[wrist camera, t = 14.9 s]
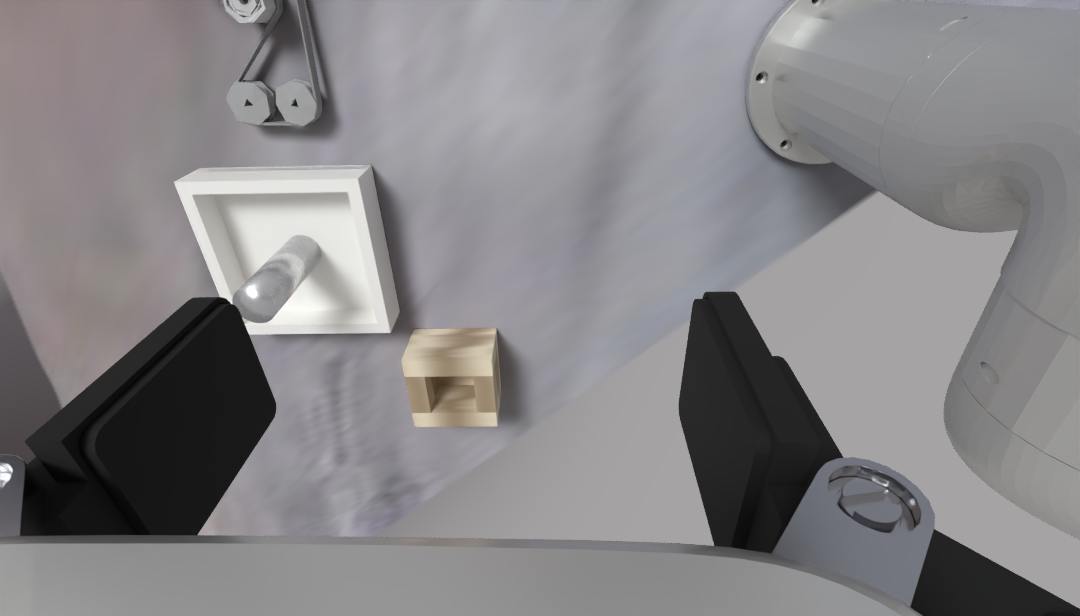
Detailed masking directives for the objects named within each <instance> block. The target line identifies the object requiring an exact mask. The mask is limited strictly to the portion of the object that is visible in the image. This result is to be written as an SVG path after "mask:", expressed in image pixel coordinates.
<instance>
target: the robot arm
mask: <svg viewBox="0 0 1080 616" xmlns="http://www.w3.org/2000/svg"><path fill="white" fill-rule="evenodd" d="M759 73H761V77H760V79H759V80H756V76H757V75H758V74H759ZM745 99H746V106H747V112H748V116H749V118H750V121H751V124H752V126H753V129H754V130H755V131H756V133H757V134H758V136H759V137H760V139H761V140H762V141H763V142H764V143H765V144H766V145H767V146H768V147H769V148H771V149H772V150H773V151H774V152H776V153H777V154H779V155H780V156H782V157H785V158H787V159H790V160H792V161H794V162H800V163H805V164H827V163H833V162H834V163H836V164H837V165H839V166H840V167H842V168H844V169H845V170H847V171H848V172H850V173H851V174H853V175H855V176H856V177H858V178H859V179H861V180H862V181H864V182H866V183H867V184H869V185H870V186H872V187H873V188H875V189H877V190H878V191H880V192H881V193H883V194H884V195H886V196H888V197H889V198H891V199H892V200H894V201H895V202H897V203H899V204H900V205H902V206H904V207H905V208H907V209H909V210H910V211H912V212H914V213H915V214H917V215H919V216H920V217H922V218H924V219H926V220H928V221H930V222H933V223H934V224H937V225H940V226H943V227H946V228H950V229H954V230H959V231H969V232H1003V231H1012V230H1018V232H1017V235H1016V237H1015V240H1014V243H1013V245H1012V247H1011V249H1010V251H1009V253H1008V255H1007V258H1006V259H1005V262H1004V264H1003V266H1002V268H1001V276H1000V278H999V280H998V282H997V284H996V286H995V288H994V290H993V292H992V295H991V297H990V298H989V301H988V303H987V305H986V307H985V309H984V311H983V313H982V315H981V317H980V319H979V321H978V323H977V325H976V327H975V329H974V332H973V334H972V336H971V338H970V340H969V342H968V344H967V346H966V348H965V350H964V352H963V355H962V356H961V359H960V361H959V363H958V365H957V367H956V369H955V371H954V374H953V376H952V379H951V382H950V384H949V387H948V389H947V393H946V398H945V402H944V422H945V427H946V431H947V434H948V436H949V439H950V441H951V443H952V445H953V447H954V449H955V450H956V452H957V453H958V455H959V456H960V457H961V459H962V460H963V461H964V462H965V463H966V465H967V466H968V467H969V468H970V469H971V470H972V471H973V472H974V473H975V474H976V475H977V476H979V478H981V479H982V480H983V481H984V482H985V483H986V484H988V485H989V486H990V487H991V488H992V489H994V490H995V491H996V492H998V493H999V494H1001V495H1002V496H1003V497H1005V498H1006V499H1008V500H1009V501H1011V502H1012V503H1014V504H1015V505H1017V506H1018V507H1020V508H1021V509H1023V510H1025V511H1026V512H1028V513H1030V514H1031V515H1033V516H1036V517H1037V518H1039V519H1040V520H1042V521H1044V522H1046V523H1048V524H1050V525H1052V526H1053V527H1056V528H1057V529H1059V530H1061V531H1063V532H1065V533H1067V534H1069V535H1071V536H1073V537H1075V538H1077V539H1079V540H1080V10H1076V9H1056V8H1029V7H1010V6H992V5H973V4H955V3H936V2H927V1H926V0H816V1H815V2H814V3H812V0H792V1H790V2H789V3H788V4H787V5H786V6H785V7H784V8H783V9H782V10H781V11H780V12H779V13H778V14H777V16H776V17H775V18H774V19H773V21H772V22H771V23H770V24H769V26H768V27H767V29H766V30H765V32H764V34H763V35H762V37H761V39H760V41H759V42H758V44H757V46H756V49H755V51H754V54H753V56H752V59H751V61H750V65H749V69H748V74H747V79H746V94H745ZM784 140H785V142H784V144H783V145H781V143H782V142H783V141H784ZM780 145H781V146H780ZM275 413H276V402H275V399H274V397H273V394H272V392H271V389H270V387H269V384H268V382H267V379H266V377H265V374H264V371H263V369H262V366H261V364H260V361H259V359H258V356H257V354H256V351H255V349H254V346H253V344H252V341H251V339H250V336H249V334H248V331H247V329H246V326H245V324H244V321H243V319H242V316H241V314H240V311H239V309H238V308H237V307H236V306H235V305H233V304H231V303H230V302H229V301H228V300H227V299H226V298H223V297H198V298H192V299H190V300H189V301H187V302H186V303H185V304H184V305H183V306H182V307H180V308H179V309H178V310H177V311H176V312H175V313H173V314H172V315H171V316H170V317H169V318H168V319H166V320H165V321H164V322H163V323H162V324H161V325H159V326H158V327H157V328H156V329H155V330H154V331H152V332H151V333H150V334H149V335H148V336H147V337H145V338H144V339H143V340H142V341H141V342H140V343H138V344H137V345H136V346H135V347H134V348H133V349H131V350H130V351H129V352H128V353H127V354H126V355H124V356H123V357H122V358H121V359H120V360H119V361H117V362H116V363H115V364H114V365H113V366H112V367H111V368H109V369H108V370H107V371H106V372H105V373H104V374H102V375H101V376H100V377H99V378H98V379H97V380H95V381H94V382H93V383H92V384H91V385H90V386H88V387H87V388H86V389H85V390H84V391H83V392H81V393H80V394H79V395H78V396H77V397H76V398H74V399H73V400H72V401H71V402H70V403H69V404H67V405H66V406H65V407H64V408H63V409H62V410H60V411H59V412H58V413H57V414H56V415H55V416H53V417H52V418H51V419H50V420H49V421H48V422H46V423H45V424H44V425H43V426H42V427H41V428H40V429H38V430H37V431H36V432H35V433H34V434H32V435H31V436H30V437H29V438H28V439H27V440H25V443H26V444H27V445H28V446H29V447H30V449H31V450H32V451H33V453H34V454H35V455H36V457H35V458H34V459H33V460H32V461H31V462H30V463H29V464H28V465H27V464H26V463H25V462H24V461H23V459H21V458H19V457H17V456H15V455H0V616H1080V609H1079V608H1077V607H1075V606H1073V605H1072V604H1070V603H1068V602H1066V601H1064V600H1063V599H1061V598H1059V597H1057V596H1055V595H1053V594H1051V593H1050V592H1048V591H1046V590H1044V589H1042V588H1041V587H1039V586H1037V585H1035V584H1033V583H1031V582H1030V581H1028V580H1026V579H1024V578H1022V577H1021V576H1019V575H1017V574H1015V573H1013V572H1011V571H1010V570H1008V569H1006V568H1004V567H1002V566H1000V565H999V564H997V563H995V562H993V561H991V560H989V559H988V558H985V557H984V556H982V555H980V554H979V553H976V552H975V551H973V550H971V549H969V548H968V547H966V546H964V545H962V544H960V543H959V542H957V541H955V540H953V539H951V538H949V537H947V536H946V535H944V534H942V533H940V532H938V531H936V530H935V529H934V523H935V522H934V521H935V514H934V512H933V510H932V507H931V505H930V502H929V501H928V499H927V498H926V497H925V496H924V494H923V493H922V492H921V491H920V489H919V488H918V487H917V486H916V485H914V484H913V483H912V482H911V481H909V480H908V479H907V478H906V477H905V476H903V475H901V474H900V473H898V472H896V471H894V470H892V469H891V468H889V467H887V466H884V465H881V464H879V463H876V462H873V461H870V460H866V459H859V458H853V457H852V458H843V456H842V454H841V453H840V451H839V449H838V448H837V446H836V444H835V443H834V441H833V439H832V437H831V436H830V434H829V432H828V431H827V429H826V427H825V426H824V424H823V422H822V421H821V419H820V417H819V416H818V414H817V412H816V410H815V409H814V407H813V405H812V404H811V402H810V400H809V399H808V397H807V395H806V394H805V392H804V390H803V389H802V387H801V385H800V383H799V382H798V380H797V378H796V377H795V375H794V373H793V372H792V370H791V368H790V367H789V365H788V363H787V362H786V361H785V360H784V358H782V357H780V356H772V355H771V353H770V352H769V349H768V348H767V346H766V344H765V342H764V340H763V339H762V337H761V335H760V333H759V332H758V330H757V328H756V326H755V325H754V323H753V321H752V319H751V318H750V316H749V314H748V312H747V310H746V309H745V307H744V305H743V303H742V301H741V300H740V298H739V296H738V295H737V293H736V292H705V293H704V296H703V299H695V300H694V302H693V307H692V314H691V321H690V327H689V334H688V341H687V348H686V355H685V362H684V370H683V376H682V384H681V391H680V398H679V416H680V420H681V424H682V428H683V431H684V435H685V439H686V442H687V446H688V450H689V454H690V457H691V461H692V464H693V468H694V472H695V476H696V479H697V483H698V487H699V490H700V494H701V498H702V501H703V505H704V509H705V512H706V516H707V520H708V524H709V527H710V530H711V535H712V538H713V542H714V546H707V545H706V546H705V545H694V544H680V543H654V542H623V541H592V540H544V539H542V540H541V539H539V540H538V539H482V538H477V539H476V538H415V537H329V536H201V535H198V533H199V532H200V530H201V529H202V527H203V525H204V524H205V522H206V521H207V519H208V518H209V516H210V515H211V513H212V512H213V510H214V509H215V507H216V506H217V504H218V503H219V501H220V500H221V498H222V497H223V495H224V493H225V492H226V490H227V489H228V487H229V486H230V484H231V483H232V481H233V480H234V478H235V477H236V475H237V474H238V472H239V471H240V469H241V468H242V466H243V465H244V463H245V461H246V460H247V458H248V457H249V455H250V454H251V452H252V451H253V449H254V448H255V446H256V445H257V443H258V442H259V440H260V439H261V437H262V436H263V434H264V433H265V431H266V430H267V428H268V426H269V425H270V423H271V422H272V420H273V419H274V417H275Z"/></svg>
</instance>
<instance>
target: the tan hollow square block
mask: <svg viewBox="0 0 1080 616" xmlns="http://www.w3.org/2000/svg"><path fill="white" fill-rule="evenodd" d="M401 362H402V367H403V372H404V377H405V381H406V386H407V391H408V396H409V401H410V406H411V411H412V415H413V420H414V425H415V427H480V426H498V418H499V409H500V401H501V392H502V391H501V379H500V367H499V354H498V342H497V330H496V328H477V329H414V330H413V332H412V335H411V337H410V340H409V343H408V345H407V348H406V350H405V353H404V355H403V358H402V361H401Z"/></svg>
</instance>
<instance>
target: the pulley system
mask: <svg viewBox="0 0 1080 616" xmlns="http://www.w3.org/2000/svg"><path fill="white" fill-rule="evenodd" d="M221 3H222V7H223V9H224V10H225V11H226V12H227V13H228V14H229V15H230V16H231V17H233V18H234V19H235V20H236V21H237V22H238V23H263V24H268V23H269V24H268V26H267V27H266V29H265V31H264V33H263V34H262V36H261V38H260V40H259V42H258V43H257V45H256V47H255V49H254V50H253V52H252V54H251V56H250V57H249V59H248V61H247V63H246V65H245V66H244V68H243V70H242V72H241V73H240V75H239V77H238V79H237V81H236V82H234V83H233V85H232V87H231V89H230V90H229V93H228V95H227V97H226V100H227V102H228V104H229V106H230V108H231V109H232V111H233V113H234V115H235V117H236V118H237V120H238V121H239V122H242V123H246V124H249V125H300V126H305V125H307V124H309V123H312V122H314V121H316V119H318V118H319V117H321V114H322V99H321V93H320V88H319V82H318V77H317V71H316V66H315V60H314V55H313V49H312V44H311V38H310V32H309V27H308V21H307V16H306V10H305V5H304V0H296V4H297V10H298V15H299V21H300V26H301V32H302V37H303V43H304V48H305V54H306V59H307V65H308V70H309V76H310V81H311V84H310V83H309V82H307V81H303V80H299V79H294V80H293V81H288V82H286V83H284V84H282V85H281V86H279V87H277V88H276V105H277V107H278V109H279V110H280V112H281V114H282V116H283V117H284V119H285V121H271V120H273V117H274V114H275V111H276V109H275V99H274V94H273V93H272V92H271V91H270V90H269V89H268V88H267V87H266V86H265V85H264V84H263V83H262V82H261V81H247V80H243V78H244V76H245V75H246V73H247V71H248V70H249V68H250V66H251V65H252V63H253V61H254V60H255V58H256V56H257V55H258V53H259V51H260V50H261V48H262V47H263V45H264V43H265V42H266V40H267V38H268V37H269V35H270V33H271V32H272V30H273V28H274V27H275V25H276V23H277V22H278V20H279V18H280V17H281V15H282V13H283V0H221ZM241 81H242V82H241Z"/></svg>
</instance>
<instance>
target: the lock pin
mask: <svg viewBox="0 0 1080 616" xmlns="http://www.w3.org/2000/svg"><path fill="white" fill-rule="evenodd" d="M321 257H322V252H321V249H320V247H319V245H318V244H317V243H316V242H315V241H314V240H313V239H312V238H310V237H308V236H304V235H295V236H293V237H291V238H290V239H289V240H288V241H287V242H286V243H285V244H284V245H283V246H282V247H281V248H280V249H279V250H278V251H277V252H276V253H275V254H274V255H273V256H272V257H271V258H270V259H269V260H268V261H267V262H266V263H265V264H263V265H262V266H261V267H260V268H259V269H258V270H257V271H256V272H255V273H254V274H253V275H252V276H251V277H250V278H249V279H248V280H247V281H246V282H245V283H244V284H243V285H242V286H241V287H240V288H239V289H238V290H237V291H236V292H235V294H234V295H233V299H232V302H233V305H235V306H236V307H237V308H238V309H239V311H240V314H241V316H242V317H243V318H245V319H246V320H248V321H251V322H254V323H266V322H269V321H270V320H272V319H273V318H274V316H275V315H276V314H277V313H278V311H279V310H280V309H281V308H282V307H283V305H284V304H285V303H286V302H287V300H288V299H289V298H290V297H291V296H292V294H293V293H294V292H295V291H296V290H297V288H298V287H299V286H300V285H301V283H302V282H303V281H304V280H305V279H306V277H307V276H308V275H309V274H310V272H311V271H312V270H313V269H314V268H315V266H316V265H317V264H318V263H319V261H320V260H321Z"/></svg>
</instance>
